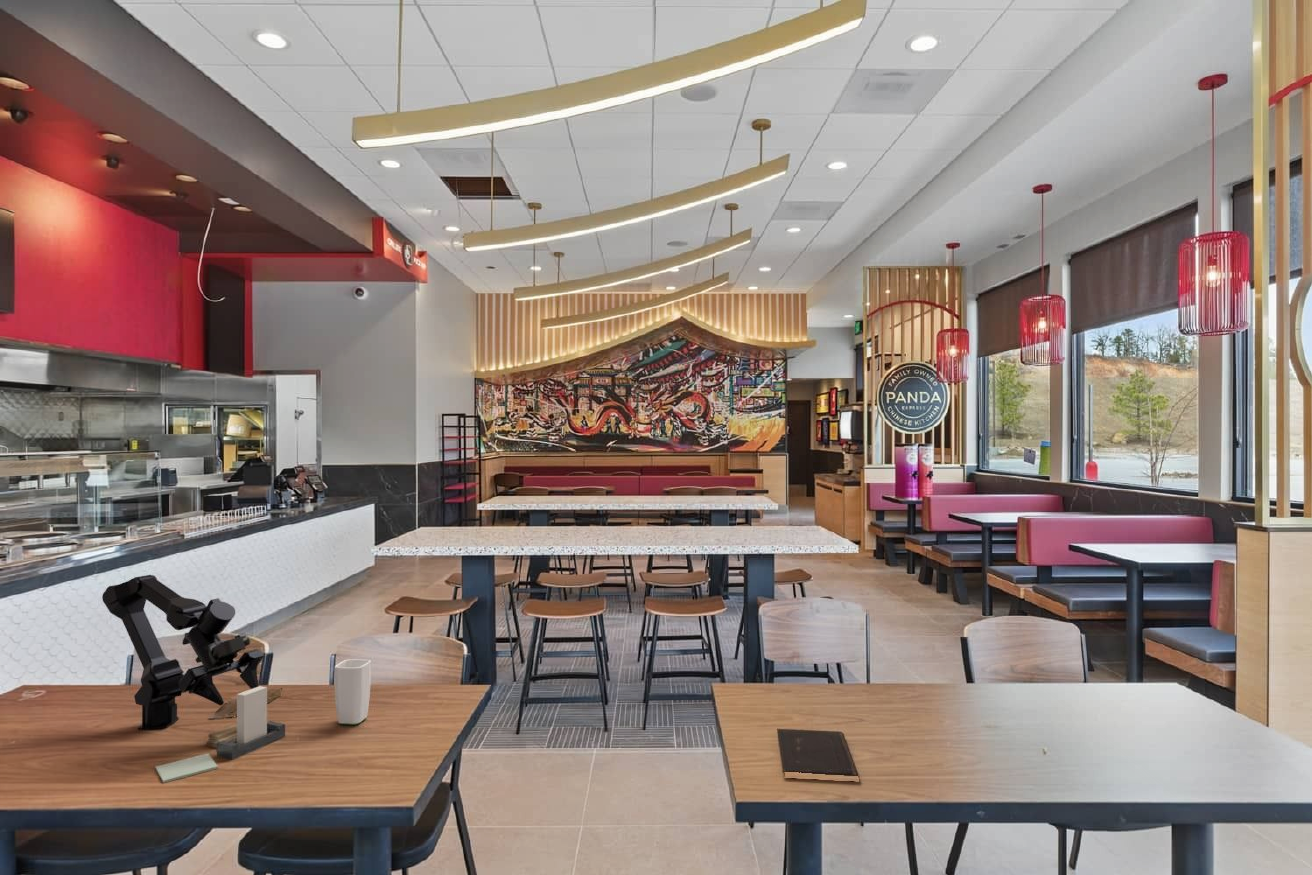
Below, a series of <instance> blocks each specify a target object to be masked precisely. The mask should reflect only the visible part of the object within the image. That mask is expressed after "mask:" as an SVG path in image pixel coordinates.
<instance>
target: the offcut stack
mask: <svg viewBox="0 0 1312 875" xmlns="http://www.w3.org/2000/svg"><path fill="white" fill-rule="evenodd" d="M235 739H237V723H236V724H233V725H230V726H227V727H224V728H221V729H219V730H216V731H212V732H211V733H208V740H207V741H205V746H206V747H212V748H215V749H217V742H220V741H222V740H224V741H228V742H231V741H233V740H235Z"/></svg>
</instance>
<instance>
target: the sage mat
mask: <svg viewBox="0 0 1312 875" xmlns="http://www.w3.org/2000/svg"><path fill="white" fill-rule="evenodd" d="M155 770H156V772H157V774H158V776H159V778H160V780H161V781H162V784H165V783H167V782H168V783H169V782H172V781H176V780H179V779H183V778H186V777H191V776H195V775H198V774H202V773H206V772H210V771H213V770H218V765H217V763H216V762H215V760H214V759H213V758H212V756H211V755H210V754H209V752H208V753H204V754H200V755H196V756H192V757H189V758H188V757H187V758H184V759H179V760H177V761H172V762H167V763H165V764H160V765H156V766H155Z"/></svg>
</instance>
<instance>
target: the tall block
mask: <svg viewBox="0 0 1312 875" xmlns="http://www.w3.org/2000/svg"><path fill="white" fill-rule="evenodd" d="M267 690H268V687H267V686H262V685H261V686H260V685H259V687H256V688H253V689H251V688H249V689H247V690H245V691H242V692H240V693H237V694H236V699H237V717H236V724H237V744H238V746H240V745H242V744H245V743H247V742H249V741H252V740H254V739H256V738H259V737H261V736H263V735H266V734H267V722H268V703H267Z"/></svg>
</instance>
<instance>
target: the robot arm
mask: <svg viewBox="0 0 1312 875" xmlns="http://www.w3.org/2000/svg"><path fill="white" fill-rule="evenodd" d="M101 596H102V597H101V599H102V602H103V604H104V605H105V606H106V608H107V610H108V612H109V613H110V614H112V615H113V616H115V617H117V618H118V619H120V620H121V621H122V623H123V625H124V627H125V630H126V632H127V634H128V637H129V638H130V639H129V640H130V641H131V643H132V645H133V647H134V650H135V652H136V654H137V656H138V659H139V660H140V664H141V666H142V668H143V670H142V673H141V678H140V683H141V687H140V688H139V689H138V690H137V692H136V693H135V695H134V701H135V704H136V705H139V706H141V725H139V726H138V730H153V729H155V730H156V729H158V730H159V729H166V728H168V727H169V726H170V725H172V724H174V723H175V722H176V721H178V720H179V716H178V704H177V703H176V698H177V697H181V696H182V694H184V693H187V692H188V694H194V695H197V696H199V697H202V698H204V699H205V700H208V701H210V702H213V704H216V705H218V706H220V707H221V706H222V705H223V704H225V701H224V699H223V696H222V695H221V694H220V692H219V690H218V689H217V687H216V685H215V684H214V681H213V680H214V679H213V677H214V676H218V675H222V674H225V673H227V672H231V671H234V670H236V672H238V674H239V677H240V678H241V680H242V681H243V682H244V683H245V684H246V685H247V686H248V688H249V689H253V688H256V687H259V686H260V685H259V680H258V672H257V671H258V666H259V665H260V663H261V662H262V660H264V659H263V658H264V657H265V654H264V653H263V651H262V650H261V649H259V648H255V649H251V650H249V651H245V652H243V654H242V655H241V656H240V658H239V659H236V658H237V657H238V655H239V654H238V653H239V652H241V651H244V650H247V649H246V648H247V646H249V645H250V643H251V641H250V638H249V636H248V634H246V632H243V633H239V634H237V635H235V636H234V637H233V638H230V639H227V640H226V639H223V640H221V638H220V637H219V635H220V634H221V633H222V632H223V631H224V630H225V628H227V626H228V625H229V624H230V623H231V621H232V620H233V619H234V617H235V615H236V609H235V607H234V606H233V605H231V604H229V603H228V602H225V601H222V600H220V598H217V597H216V598H213V599H210V601H208V603H207V605H206V604H205V603H204V602H202V601H200V600H197V599H195V598H187V597H183V596H182V595H180V594H178V593H176V592H175V591H174V590H173V589H171V588H170V587H168V586H167V585H165V584H163V582H161V581H159V580H158V579H157V577H156V575H154V574H153V575H152V574H147V575H141V576H134V577H133V578H131V579H129V580H127V581H124V582H121V583H120V584H115V585H114V584H113V585H109V586H107V588H106V589H105V590H104V592H103V593H102V595H101ZM147 601H148V602H150V603H151V604H152V605H153V606H155V607H156V608H157V609H159V610H160V611H162V612H163V613H164V614H165V615H166V617H165V618H166V619H165V620H166V622H167V623H168V624H169V625H171V627H172V628H173V629H174V630H176V631H181V630H186V629H190V630H189V631H188V632H185V633H184V638H183V639H182V645H183V646H185V645H186V646H187V645H190V646H191V648H192V650H193V651H194V653H195V655H196V657H195V662H196V663H197V664H199V663H201V665H198V666H194V667H191V668H188V669H187V670H186V672H185V670H184V669H182V668H181V665H180V663H179V660H178V659H176V658H175V659H171V660H170V659H169V658H167V657H166V656H165V653H164V651H163V649H162V646H161V644H160V642H159V640H158V638H157V635H156V633H155V632H154V629H153V627H152V625H151V623H150V621H149V618H148V616H147V614H146V612H145V606H146V602H147ZM234 659H236V660H234Z"/></svg>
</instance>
